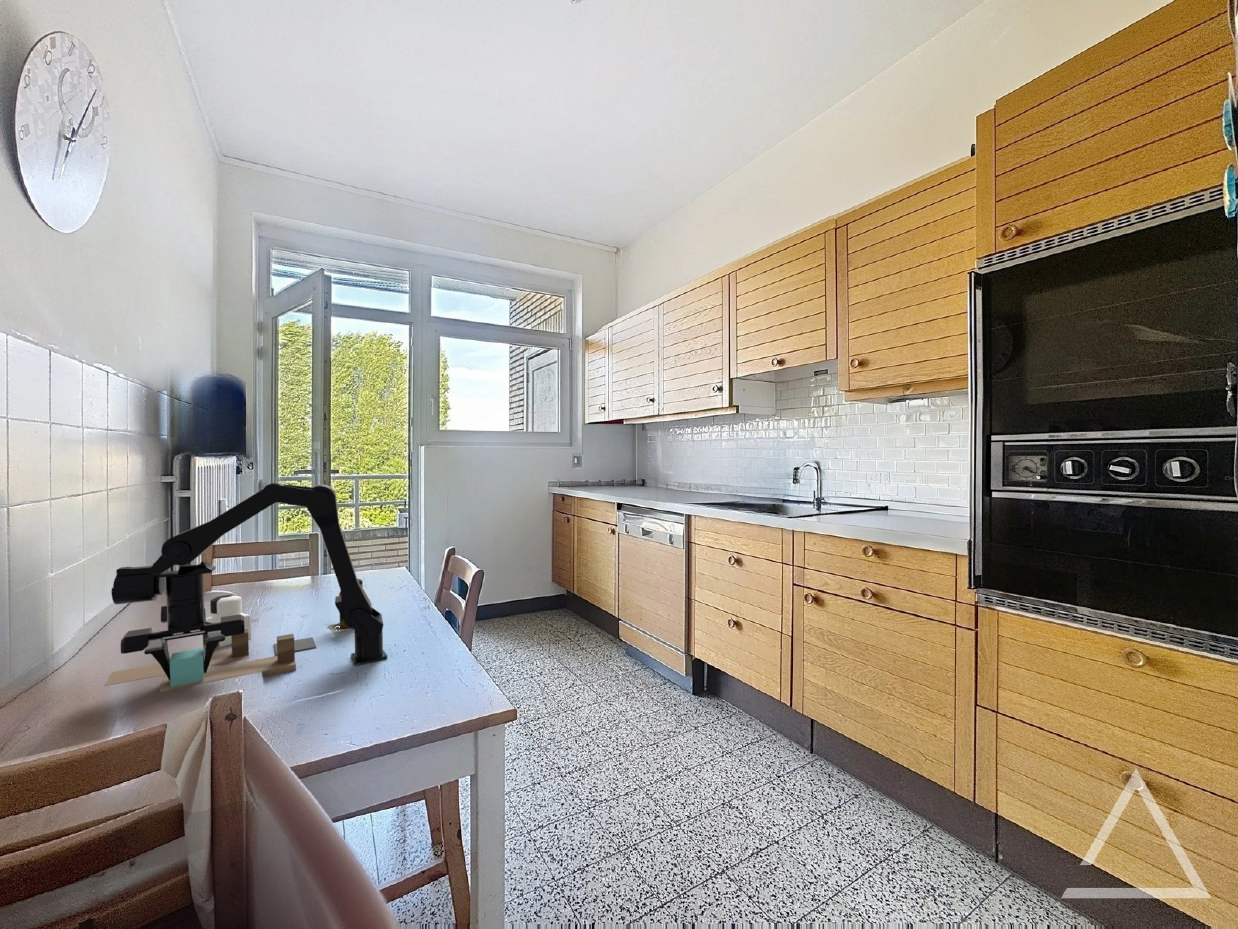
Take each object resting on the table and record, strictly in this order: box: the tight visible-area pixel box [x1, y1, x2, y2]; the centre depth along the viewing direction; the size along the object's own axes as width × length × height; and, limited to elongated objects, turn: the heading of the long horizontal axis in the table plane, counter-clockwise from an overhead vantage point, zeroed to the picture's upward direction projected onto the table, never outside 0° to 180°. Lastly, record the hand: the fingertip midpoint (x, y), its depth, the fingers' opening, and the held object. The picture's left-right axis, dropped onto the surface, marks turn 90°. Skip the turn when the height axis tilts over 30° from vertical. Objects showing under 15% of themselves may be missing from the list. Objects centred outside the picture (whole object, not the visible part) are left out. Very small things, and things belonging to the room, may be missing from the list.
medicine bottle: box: [202, 594, 252, 649], centre depth 129 cm, size 7×7×12 cm
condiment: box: [327, 578, 364, 634], centre depth 143 cm, size 7×8×12 cm
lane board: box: [104, 663, 166, 687], centre depth 108 cm, size 21×21×2 cm
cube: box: [170, 647, 205, 687], centre depth 107 cm, size 5×5×5 cm
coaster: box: [273, 636, 317, 656], centre depth 128 cm, size 8×8×1 cm
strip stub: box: [208, 629, 250, 667], centre depth 119 cm, size 8×7×6 cm
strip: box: [159, 633, 297, 693], centre depth 111 cm, size 8×22×6 cm, turn 125°
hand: (188, 675), depth 107 cm, fingers closed on cube, 5 cm apart
